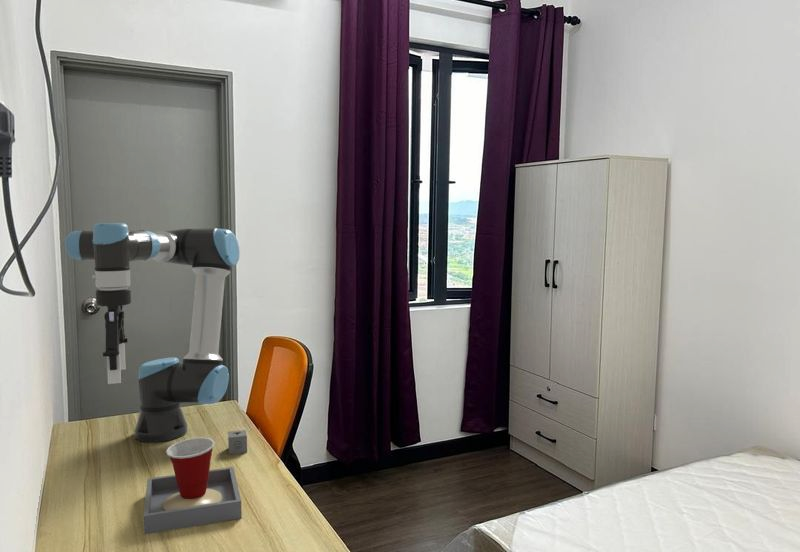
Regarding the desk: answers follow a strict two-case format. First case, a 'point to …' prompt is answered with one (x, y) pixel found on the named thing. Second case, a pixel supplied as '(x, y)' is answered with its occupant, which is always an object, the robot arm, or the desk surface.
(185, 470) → the plastic cup
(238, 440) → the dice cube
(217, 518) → the grey square tray
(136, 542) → the desk surface
